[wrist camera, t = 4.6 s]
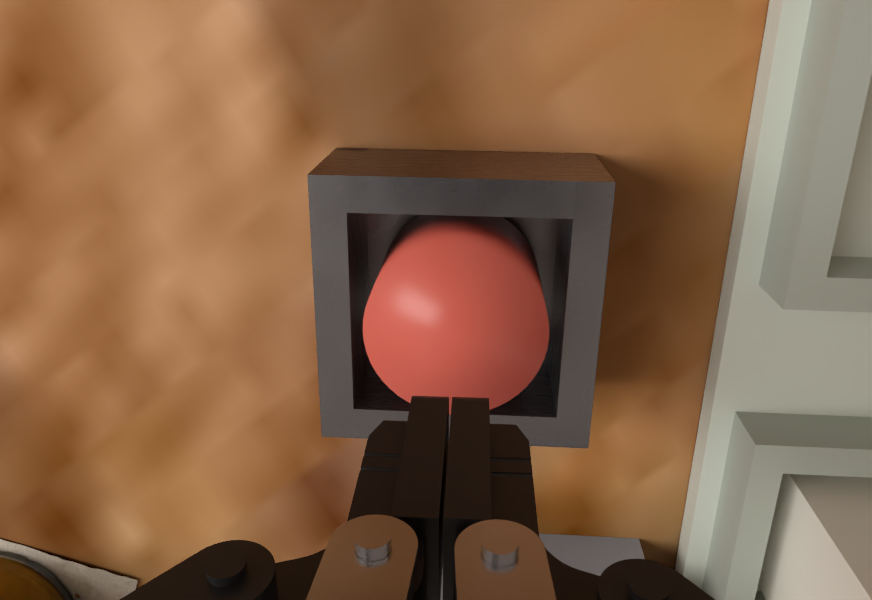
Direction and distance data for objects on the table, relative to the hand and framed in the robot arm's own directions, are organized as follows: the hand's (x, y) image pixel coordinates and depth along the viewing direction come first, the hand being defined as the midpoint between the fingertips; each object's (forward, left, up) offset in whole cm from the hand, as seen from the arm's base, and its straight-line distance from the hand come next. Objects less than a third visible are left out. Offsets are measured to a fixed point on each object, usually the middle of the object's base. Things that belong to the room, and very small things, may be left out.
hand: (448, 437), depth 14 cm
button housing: (0, 0, -11) cm, 11 cm away
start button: (0, 0, -10) cm, 10 cm away
